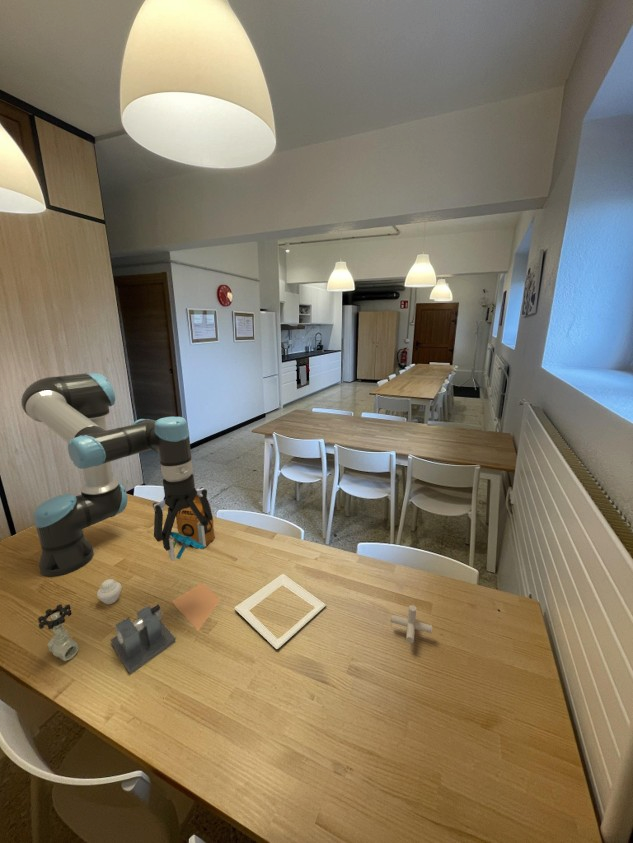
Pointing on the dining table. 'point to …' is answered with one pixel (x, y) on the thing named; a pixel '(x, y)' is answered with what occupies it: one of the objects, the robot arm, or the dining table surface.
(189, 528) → the coffee package
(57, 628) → the valve
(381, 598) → the dining table surface
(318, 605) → the white square picture frame
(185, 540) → the gear
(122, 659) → the shaft stand
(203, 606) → the pad
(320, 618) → the dining table surface
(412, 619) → the pipe connector
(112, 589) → the white rounded lump
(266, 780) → the dining table surface
